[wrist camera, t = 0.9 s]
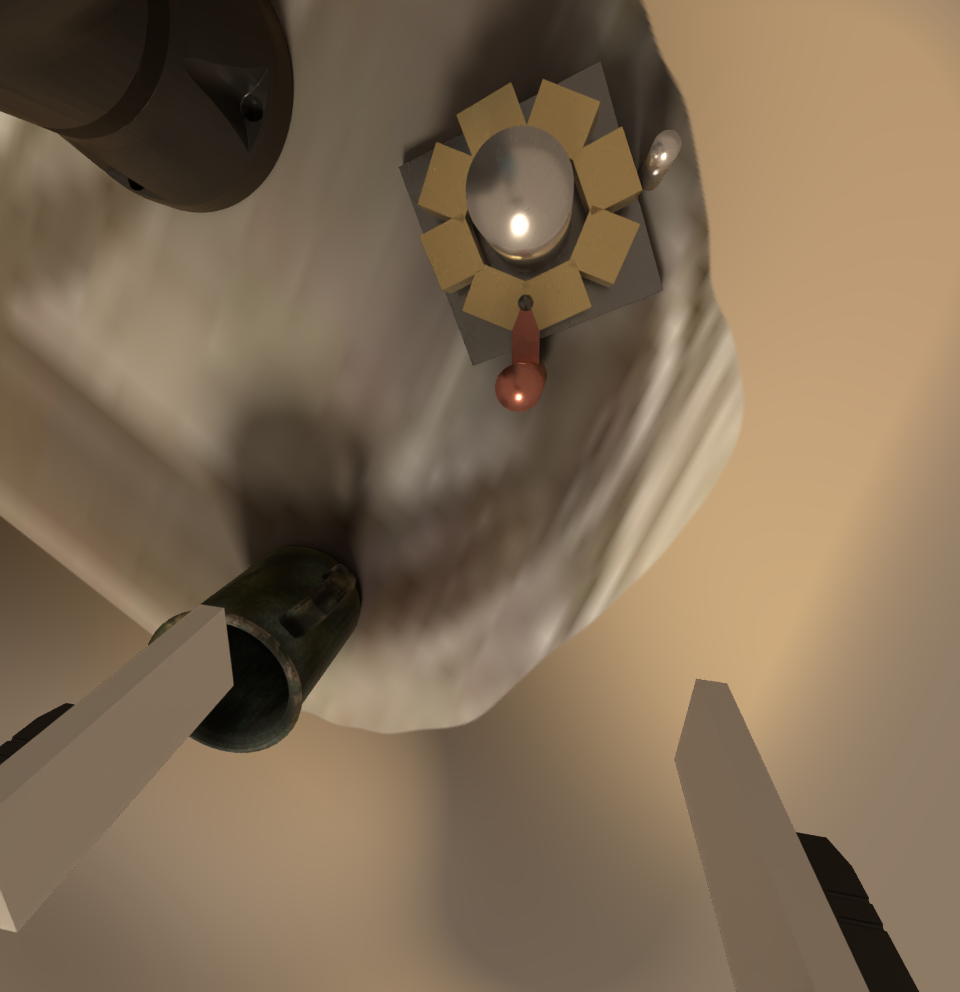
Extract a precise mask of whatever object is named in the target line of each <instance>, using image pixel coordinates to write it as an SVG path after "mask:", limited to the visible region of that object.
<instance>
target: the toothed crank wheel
mask: <svg viewBox="0 0 960 992" xmlns="http://www.w3.org/2000/svg"><path fill="white" fill-rule="evenodd" d="M599 108H600V101H597V100H595V99H592V98H590V97H587V96H585V95H582V94H580V93H577V92H575V91H572V90H570V89H567V88H565V87H562V86H560V85H557V84H555V83H552V82H550V81H547V80H545V79H543V80H542V83H541V86H540V89H539V91H538V94H537V97H536V100H535V103H534V106H533V109H532V112H531V114H530V117H529V120H528V123H527V125H526V122H525V119H524V116H523V113H522V111H521V108H520V105H519V102H518V99H517V97H516V94H515V91H514V88H513V86H512V83H511V82H510V83H509V84H507V85H505V86H504V87H502V88H500V89H499V90H497V91H495V92H494V93H492V94H490V95H489V96H487V97H485V98H484V99H482V100H480V101H479V102H477V103H475V104H474V105H472V106H470V107H469V108H467V109H465V110H464V111H462V112H460V113H459V114H457V118H458V121H459V123H460V126H461V128H462V131H463V134H464V136H465V139H466V141H467V144H468V147H469V149H470V152H471V154H472V156H470V155H468V154H465V153H463V152H460V151H458V150H455V149H453V148H450V147H448V146H445V145H443V144H440V143H438V142H436V145H435V148H434V151H433V155H432V158H431V161H430V165H429V168H428V171H427V175H426V178H425V182H424V185H423V188H422V192H421V195H420V198H419V202H418V205H419V206H420V207H421V208H423V209H424V210H425V211H426V212H427V213H428V214H430V215H432V216H435V217H437V218H439V219H442V220H444V221H446V222H445V223H443V224H441V225H439V226H437V227H435V228H434V229H432V230H430V231H428V232H426V233H424V234H422V235H421V236H420V239H421V241H422V243H423V246H424V248H425V251H426V253H427V255H428V258H429V260H430V262H431V265H432V267H433V269H434V272H435V274H436V277H437V279H438V281H439V284H440V286H441V288H442V290H443V291H445V292H448V293H453V292H456V291H458V290H460V289H462V288H464V287H466V286H468V285H470V284H471V287H470V290H469V292H468V295H467V298H466V301H465V304H464V307H463V310H462V311H464V312H467V313H469V314H471V315H474V316H476V317H479V318H481V319H484V320H486V321H488V322H491V323H493V324H496V325H498V326H501V327H503V328H505V329H508V330H510V331H512V365H510V366H509V367H507V368H505V369H504V370H503V371H502V372H501V373H500V375H499V376H498V378H497V381H496V385H495V391H496V395H497V398H498V400H499V401H500V403H501V404H502V405H503V406H504V407H505V408H507V409H509V410H512V411H517V412H520V411H525V410H528V409H530V408H531V407H533V406H534V405H535V404H536V403H537V402H538V400H539V398H540V396H541V393H542V390H543V387H544V385H545V382H546V378H547V372H546V368H545V366H544V365H543V363H542V362H541V361H540V331H542V330H544V329H546V328H548V327H551V326H553V325H555V324H557V323H559V322H562V321H564V320H566V319H568V318H570V317H573V316H575V315H577V314H579V313H581V312H584V311H586V310H588V309H590V308H591V307H592V306H591V303H590V301H589V298H588V295H587V292H586V289H585V287H584V284H583V281H582V278H581V276H582V277H584V278H586V279H589V280H591V281H594V282H596V283H599V284H601V285H604V286H606V287H608V288H610V287H611V286H612V285H613V284H614V282H615V280H616V278H617V275H618V273H619V271H620V269H621V266H622V264H623V262H624V260H625V257H626V255H627V253H628V251H629V248H630V246H631V244H632V242H633V239H634V237H635V235H636V233H637V230H638V228H639V226H640V224H639V223H636V222H634V221H631V220H629V219H626V218H624V217H621V216H619V215H616V214H614V212H616V211H618V210H620V209H622V208H624V207H626V206H628V205H630V204H632V203H634V202H636V201H637V199H638V197H639V195H640V193H641V192H642V187H641V183H640V180H639V177H638V174H637V171H636V168H635V165H634V161H633V158H632V155H631V152H630V149H629V146H628V143H627V139H626V136H625V133H624V130H623V127H620V128H618V129H616V130H615V131H613V132H611V133H609V134H607V135H605V136H603V137H602V138H600V139H598V140H596V141H594V142H592V143H591V144H589V141H590V139H591V136H592V134H593V131H594V128H595V126H596V123H597V120H598V114H599ZM513 126H532V127H537V128H539V129H542V130H544V131H546V132H548V133H549V134H551V135H552V136H553V137H554V138H556V139H557V141H558V142H559V143H560V144H561V145H562V147H563V148H564V149H565V151H566V153H567V155H568V157H569V160H570V162H571V165H572V170H573V176H574V182H575V184H576V187H577V190H578V193H579V196H580V199H581V202H582V205H583V208H584V210H585V213H586V216H587V219H586V221H585V224H584V226H583V229H582V231H581V234H580V236H579V238H578V241H577V243H576V246H575V248H574V251H573V253H572V256H571V258H570V260H569V261H567V262H565V263H563V264H561V265H559V266H557V267H555V268H553V269H551V270H549V271H547V272H544V273H542V274H540V275H538V276H536V277H534V278H532V279H530V280H528V281H523V280H521V279H518V278H516V277H514V276H511V275H509V274H506V273H504V272H501V271H499V270H496V269H494V268H492V267H489V266H488V265H487V262H486V260H485V257H484V255H483V252H482V250H481V247H480V245H479V242H478V240H477V237H476V235H475V232H474V230H473V227H472V226H473V221H472V219H471V216H470V214H469V211H468V207H467V202H466V191H465V190H466V180H467V174H468V171H469V168H470V165H471V163H472V160H473V158H474V157H475V155H476V153H477V152H478V150H479V149H480V148H481V146H482V145H483V144H484V143H485V142H486V141H487V140H488V139H489V138H491V137H492V136H493V135H495V134H496V133H498V132H500V131H502V130H504V129H506V128H510V127H513ZM588 144H589V145H588Z"/></svg>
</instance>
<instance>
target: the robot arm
mask: <svg viewBox="0 0 960 992" xmlns="http://www.w3.org/2000/svg"><path fill="white" fill-rule="evenodd" d="M292 99H293V83H292V71H291V63H290V57H289V52H288V48H287V44H286V40H285V37H284V33H283V30H282V28H281V25H280V22H279V20H278V17H277V15H276V13H275V11H274V9H273V7H272V5H271V3H270V1H269V0H0V111H1V112H4V113H7V114H9V115H12V116H15V117H17V118H20V119H22V120H25V121H28V122H30V123H33V124H36V125H38V126H41V127H43V128H46V129H48V130H51V131H53V132H55V133H58V134H59V135H60V136H61V137H63V138H64V139H65V140H66V141H68V142H69V143H70V144H71V145H73V146H74V147H75V148H76V149H77V150H79V151H80V152H81V153H82V154H84V155H85V156H86V157H87V158H89V159H90V160H91V161H92V162H93V163H95V164H96V165H97V166H98V167H100V168H101V169H102V170H104V171H105V172H106V173H107V174H108V175H109V176H111V177H112V178H113V179H115V180H116V181H117V182H119V183H120V184H121V185H123V186H124V187H126V188H127V189H129V190H131V191H132V192H134V193H136V194H138V195H140V196H142V197H144V198H146V199H149V200H151V201H154V202H157V203H160V204H163V205H166V206H169V207H172V208H175V209H179V210H183V211H188V212H213V211H218V210H222V209H225V208H228V207H230V206H233V205H235V204H237V203H239V202H240V201H242V200H244V199H245V198H246V197H248V196H249V195H250V194H252V193H253V192H254V191H255V190H256V189H257V188H258V187H259V186H260V185H261V184H262V183H263V182H264V180H265V179H266V178H267V177H268V175H269V174H270V172H271V171H272V169H273V167H274V166H275V164H276V162H277V160H278V158H279V156H280V154H281V151H282V149H283V146H284V143H285V140H286V137H287V133H288V129H289V124H290V119H291V112H292ZM233 685H234V684H233V676H232V667H231V659H230V651H229V643H228V635H227V627H226V619H225V611H224V608H221V607H214V606H207V605H201V604H199V605H198V606H197V607H196V608H194V609H193V610H192V611H191V612H189V613H188V614H187V615H186V616H184V617H183V618H182V619H181V620H179V621H178V622H177V623H176V624H175V625H173V626H172V627H171V628H170V629H168V630H167V631H166V632H165V633H163V634H162V635H161V636H160V637H158V638H157V639H156V640H155V641H153V642H152V643H151V644H150V645H148V646H147V647H146V648H145V649H144V650H142V651H141V652H140V653H139V654H137V655H136V656H135V657H134V658H133V659H131V660H130V661H129V662H127V663H126V664H125V665H124V666H122V667H121V668H120V669H119V670H118V671H116V672H115V673H114V674H113V675H111V676H110V677H109V678H108V679H107V680H105V681H104V682H103V683H101V684H100V685H99V686H98V687H96V688H95V689H94V690H93V691H91V692H90V693H89V694H88V695H87V696H85V697H84V698H83V699H82V700H80V701H79V702H78V703H77V704H75V705H74V704H68V703H65V704H63V705H61V706H59V707H57V708H55V709H53V710H52V711H50V712H48V713H46V714H44V715H42V716H40V717H38V718H36V719H35V720H34V721H32V722H31V723H30V724H29V725H27V726H26V727H25V728H23V729H22V730H21V731H19V732H18V733H17V734H16V735H14V736H13V737H12V740H11V741H7V742H5V743H4V744H3V745H1V746H0V929H5V930H9V931H14V932H18V931H19V930H20V928H21V927H22V926H23V925H24V924H25V923H26V922H27V921H28V919H29V918H30V917H31V916H32V915H33V914H34V913H35V911H36V910H37V909H38V908H39V907H40V905H42V903H43V902H44V901H45V900H46V899H47V898H48V897H49V895H50V894H51V893H52V892H53V891H54V890H55V888H56V887H57V886H58V885H59V884H60V883H61V882H62V881H63V879H64V878H65V877H66V876H67V875H68V874H69V872H70V871H71V870H72V869H73V868H74V867H75V866H76V865H77V863H78V862H79V861H80V860H81V859H82V858H83V857H84V855H85V854H86V853H87V852H88V851H89V850H90V849H91V847H92V846H93V845H94V844H95V843H96V842H97V841H98V839H99V838H100V837H101V836H102V835H103V834H104V833H105V831H106V830H107V829H108V828H109V827H110V826H111V824H112V823H113V822H114V821H115V820H116V819H117V818H118V817H119V816H120V814H121V813H122V812H123V811H124V810H125V809H126V808H127V806H128V805H129V804H130V803H131V802H132V801H133V800H134V798H135V797H136V796H137V795H138V794H139V793H140V792H141V790H142V789H143V788H144V787H145V786H146V785H147V783H148V782H149V781H150V780H151V779H152V778H153V777H154V776H155V774H156V773H157V772H158V771H159V770H160V769H161V767H162V766H163V765H164V764H165V763H166V762H167V761H168V759H169V758H170V757H171V756H172V755H173V754H174V753H175V751H176V750H177V749H178V748H179V747H180V746H181V745H182V743H183V742H184V741H185V740H186V739H187V738H188V737H189V736H190V734H191V733H192V732H193V731H194V730H195V729H196V728H197V727H198V725H199V724H200V723H201V722H202V721H203V720H204V719H205V717H206V716H207V715H208V714H209V713H210V712H211V711H212V709H213V708H214V707H215V706H216V705H217V704H218V703H219V701H220V700H221V699H222V698H223V697H224V696H225V695H226V693H227V692H228V691H229V690H230V689H231V688H232V687H233ZM675 763H676V767H677V771H678V774H679V778H680V782H681V786H682V790H683V793H684V797H685V801H686V805H687V808H688V812H689V816H690V820H691V824H692V827H693V831H694V835H695V839H696V842H697V846H698V850H699V854H700V858H701V861H702V865H703V869H704V873H705V877H706V880H707V884H708V888H709V892H710V895H711V899H712V903H713V906H714V911H715V914H716V918H717V922H718V926H719V929H720V933H721V937H722V941H723V945H724V948H725V952H726V956H727V960H728V964H729V967H730V971H731V974H732V979H733V982H734V986H735V990H736V992H919V991H918V989H917V987H916V985H915V983H914V981H913V979H912V978H911V976H910V974H909V972H908V970H907V968H906V967H905V965H904V963H903V961H902V959H901V957H900V955H899V953H898V951H897V950H896V948H895V946H894V944H893V942H892V940H891V938H890V937H889V935H888V933H887V932H886V931H884V929H883V923H882V922H881V920H880V918H879V916H878V914H877V912H876V910H875V909H874V907H873V905H872V904H870V903H869V897H868V895H867V894H866V892H865V890H864V888H863V886H862V884H861V882H860V881H859V879H858V877H857V875H856V873H855V871H854V869H853V868H852V866H851V865H850V864H849V863H848V861H847V860H846V859H845V858H844V857H843V856H842V855H841V854H840V852H839V851H838V850H837V849H836V848H835V847H834V846H833V844H832V843H831V842H830V841H829V840H828V839H827V838H826V837H820V836H814V835H809V834H803V833H798V832H795V830H794V828H793V825H792V823H791V821H790V819H789V817H788V814H787V812H786V810H785V808H784V806H783V804H782V801H781V799H780V797H779V795H778V793H777V791H776V788H775V786H774V784H773V782H772V780H771V778H770V775H769V773H768V771H767V769H766V767H765V765H764V762H763V760H762V758H761V756H760V754H759V752H758V750H757V747H756V745H755V743H754V741H753V739H752V737H751V734H750V732H749V730H748V728H747V726H746V724H745V721H744V719H743V717H742V715H741V713H740V711H739V708H738V706H737V704H736V702H735V700H734V698H733V695H732V693H731V691H730V689H729V687H728V685H727V684H726V683H721V682H714V681H707V680H701V679H696V682H695V685H694V689H693V693H692V696H691V700H690V704H689V707H688V711H687V715H686V719H685V722H684V726H683V729H682V733H681V737H680V741H679V744H678V748H677V752H676V756H675Z"/></svg>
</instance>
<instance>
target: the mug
mask: <svg viewBox="0 0 960 992" xmlns="http://www.w3.org/2000/svg"><path fill="white" fill-rule="evenodd" d="M355 584H356V578H355V577H354V575H353V574H352V572H351V571H350V570H349V569H348V568H346V567H345V566H344V565H343V564H340V563H339V562H337V561H336V560H335V559H333V558H332V557H330V556H329V555H327V554H325V553H323V552H320V551H318V550H315V549H311V548H306V547H297V546H293V547H284V548H281V549H277V550H275V551H273V552H271V553H269V554H268V555H266V556H265V557H263V558H262V559H261V560H259V561H258V562H257V563H255V564H254V565H253V566H251V567H250V568H249V569H247V570H246V571H244V572H243V573H242V574H240V575H239V576H238V577H236V578H235V579H234V580H232V581H231V582H230V583H228V584H227V585H226V586H224V587H223V588H222V589H220V590H219V591H218V592H216V593H215V594H214V595H212V596H211V597H210V598H208V599H207V600H205V601H204V602H203V603H201V605H207V606H214V607H221V608H224V611H225V619H226V627H227V635H228V643H229V651H230V659H231V667H232V676H233V684H234V685H233V687H232V688H231V689H230V690H229V691H228V692H227V693H226V695H225V696H224V697H223V698H222V699H221V700H220V701H219V703H218V704H217V705H216V706H215V707H214V708H213V709H212V711H211V712H210V713H209V714H208V715H207V716H206V717H205V719H204V720H203V721H202V722H201V723H200V724H199V725H198V727H197V728H196V729H195V730H194V731H193V732H192V733H191V734H190V736H189V737H191V738H192V739H194V740H196V741H198V742H200V743H202V744H204V745H206V746H209V747H211V748H215V749H218V750H222V751H227V752H234V753H249V752H255V751H260V750H263V749H266V748H269V747H271V746H273V745H274V744H276V743H278V742H279V741H281V740H282V739H283V738H284V737H286V736H287V735H288V734H289V732H290V731H291V730H292V729H293V727H294V726H295V724H296V722H297V720H298V717H299V714H300V711H301V707H302V703H303V702H304V701H305V699H306V698H307V696H308V695H309V694H310V692H311V691H312V689H313V688H314V686H315V685H316V684H317V682H318V681H319V679H320V678H321V677H322V675H323V674H324V672H325V671H326V669H327V668H328V667H329V665H330V664H331V662H332V661H333V660H334V658H335V657H336V655H337V654H338V652H339V651H340V650H341V648H342V647H343V645H344V644H345V643H346V641H347V640H348V638H349V637H350V635H351V634H352V633H353V631H354V629H355V627H356V625H357V623H358V620H359V615H360V599H359V595H358V591H357V589H356V586H355ZM189 612H191V611H188V612H184V613H181V614H179V615H176V616H174V617H172V618H170V619H169V620H168V621H166V622H165V623H163V624H162V625H161V626H160V627H159V628H158V630H157V631H156V632H155V633H154V635H153V637H152V638H151V640H150V641H149V644H148V645H150V644H151V643H152V642H153V641H155V640H156V639H157V638H158V637H160V636H161V635H162V634H163V633H165V632H166V631H167V630H168V629H170V628H171V627H172V626H173V625H175V624H176V623H177V622H178V621H179V620H181V619H182V618H183V617H184V616H186V615H187V614H188V613H189Z"/></svg>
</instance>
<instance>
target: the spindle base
mask: <svg viewBox="0 0 960 992" xmlns="http://www.w3.org/2000/svg"><path fill="white" fill-rule="evenodd" d="M557 85H560V86H562V87H565V88H567V89H570V90H572V91H575V92H577V93H580V94H582V95H585V96H587V97H590V98H592V99H595V100H597V101H600V108H599V114H598V120H597V123H596V126H595V128H594V131H593V134H592V136H591V139H590V141H589V144H591V143H592V142H594V141H596V140H598V139H600V138H602V137H603V136H605V135H607V134H609V133H611V132H613V131H615V130H616V129H618V128H619V127H618V123H617V119H616V116H615V112H614V108H613V105H612V101H611V97H610V94H609V90H608V86H607V83H606V79H605V75H604V72H603V68H602V64H601V61H600V62H598V63H596V64H594V65H592V66H590V67H588V68H586V69H584V70H582V71H581V72H579V73H577V74H575V75H573V76H571V77H569V78H567V79H565V80H563V81H562V82H560V83H558V84H557ZM536 97H537V95H535V96H533V97H531V98H529V99H527V100H525V101H523V102H522V103H520V104H519V105H520V108H521V111H522V113H523V116H524V119H525V122H526V125H527V123H528V120H529V117H530V114H531V112H532V109H533V106H534V103H535V100H536ZM589 144H588V145H589ZM443 145H445V146H448V147H450V148H453V149H455V150H458V151H460V152H463V153H465V154H468V155H470V156H472V154H471V152H470V149H469V147H468V144H467V141H466V139H465V136H464V134H461V135H459V136H457V137H455V138H453V139H451V140H449V141H447V142H445V143H443ZM680 149H681V138H680V136H679V134H678V133H677V132H675V131H673V130H665V131H662V132H661V133H659V134H658V135H657V137H656V138H655V140H654V142H653V144H652V146H651V148H650V150H649V152H648V155H647V157H646V159H645V161H644V163H643V165H642V167H641V169H640V171H639V174H638V177H639V180H640V183H641V187H642V189H643V190H645V191H650V190H653V189H655V188H656V187H657V186H658V184H659V183H660V181H661V180H662V178H663V177H664V175H665V174H666V172H667V170H668V169H669V167H670V166H671V164H672V163H673V161H674V160H675V158H676V156H677V155H678V153H679V151H680ZM433 151H434V149H432V150H430V151H428V152H426V153H424V154H423V155H421V156H419V157H417V158H415V159H413V160H411V161H409V162H407V163H405V164H404V165H402V166H400V167H399V169H400V172H401V175H402V177H403V180H404V183H405V185H406V188H407V191H408V193H409V196H410V199H411V201H412V204H413V207H414V209H415V212H416V215H417V217H418V220H419V223H420V225H421V228H422V231H423V233H426V232H428V231H430V230H432V229H434V228H435V227H437V226H439V225H441V224H443V223H445V222H446V221H444V220H442V219H439V218H437V217H435V216H432V215H430V214H428V213H427V212H426V211H425V210H424V209H423V208H421V207H420V206H419V205H418V202H419V198H420V195H421V192H422V188H423V185H424V182H425V178H426V175H427V171H428V168H429V165H430V161H431V158H432V155H433ZM465 191H466V202H467V207H468V211H469V214H470V216H471V219H472V221H473V226H472V227H473V230H474V232H475V235H476V237H477V240H478V242H479V245H480V247H481V250H482V252H483V255H484V257H485V260H486V262H487V265H488V266H489V267H492V268H494V269H496V270H499V271H501V272H504V273H506V274H509V275H511V276H514V277H516V278H518V279H521V280H523V281H528V280H530V279H532V278H534V277H536V276H538V275H540V274H542V273H544V272H547V271H549V270H551V269H553V268H555V267H557V266H559V265H561V264H563V263H565V262H567V261H569V260H570V258H571V256H572V253H573V251H574V248H575V246H576V243H577V241H578V238H579V236H580V234H581V231H582V229H583V226H584V224H585V221H586V219H587V216H586V213H585V210H584V208H583V205H582V202H581V199H580V196H579V193H578V190H577V187H576V184H575V182H574V176H573V170H572V165H571V162H570V160H569V157H568V155H567V153H566V151H565V149H564V148H563V147H562V145H561V144H560V143H559V142H558V141H557V139H556V138H554V137H553V136H552V135H551V134H549V133H548V132H546V131H544V130H542V129H539V128H537V127H532V126H513V127H510V128H506V129H504V130H502V131H500V132H498V133H496V134H495V135H493V136H492V137H491V138H489V139H488V140H487V141H486V142H485V143H484V144H483V145H482V146H481V148H480V149H479V150H478V152H477V153H476V155H475V157H474V158H473V160H472V163H471V165H470V168H469V171H468V174H467V180H466V190H465ZM614 214H616V215H619V216H621V217H624V218H626V219H629V220H631V221H634V222H636V223H639V224H640V226H639V228H638V230H637V233H636V235H635V237H634V239H633V242H632V244H631V246H630V248H629V251H628V253H627V255H626V257H625V260H624V262H623V264H622V266H621V269H620V271H619V273H618V275H617V278H616V280H615V282H614V284H613V285H612V286H611V287H610V288H608V287H606V286H604V285H601V284H599V283H596V282H594V281H591V280H589V279H586V278H584V277H582V276H581V278H582V281H583V284H584V287H585V289H586V292H587V295H588V298H589V301H590V303H591V306H592V307H591V308H590V309H588V310H586V311H584V312H581V313H579V314H577V315H575V316H573V317H570V318H568V319H566V320H564V321H562V322H559V323H557V324H555V325H553V326H551V327H548V328H546V329H544V330H542V331H540V339H542V338H544V337H547V336H549V335H552V334H554V333H557V332H559V331H562V330H564V329H567V328H569V327H572V326H574V325H577V324H579V323H582V322H584V321H587V320H589V319H592V318H594V317H597V316H599V315H602V314H604V313H607V312H610V311H612V310H615V309H617V308H620V307H622V306H625V305H627V304H630V303H632V302H635V301H637V300H640V299H642V298H645V297H647V296H650V295H652V294H655V293H657V292H660V291H662V290H663V287H662V284H661V280H660V276H659V273H658V269H657V266H656V262H655V258H654V255H653V251H652V247H651V244H650V240H649V236H648V233H647V229H646V225H645V222H644V218H643V214H642V211H641V207H640V203H639V200H638V199H637V201H636V202H634V203H632V204H630V205H628V206H626V207H624V208H622V209H620V210H618V211H616V212H614ZM470 287H471V284H470V285H468V286H466V287H464V288H462V289H460V290H458V291H456V292H453V293H448V292H446V295H447V297H448V300H449V303H450V305H451V308H452V311H453V314H454V316H455V319H456V322H457V324H458V327H459V330H460V332H461V335H462V338H463V340H464V343H465V346H466V348H467V351H468V354H469V356H470V359H471V362H472V364H473V365H476V364H479V363H481V362H484V361H486V360H489V359H491V358H494V357H496V356H499V355H501V354H504V353H506V352H509V351H511V350H512V331H510V330H508V329H505V328H503V327H501V326H498V325H496V324H493V323H491V322H488V321H486V320H484V319H481V318H479V317H476V316H474V315H471V314H469V313H467V312H464V311H462V310H463V307H464V304H465V301H466V298H467V295H468V292H469V290H470Z"/></svg>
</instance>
